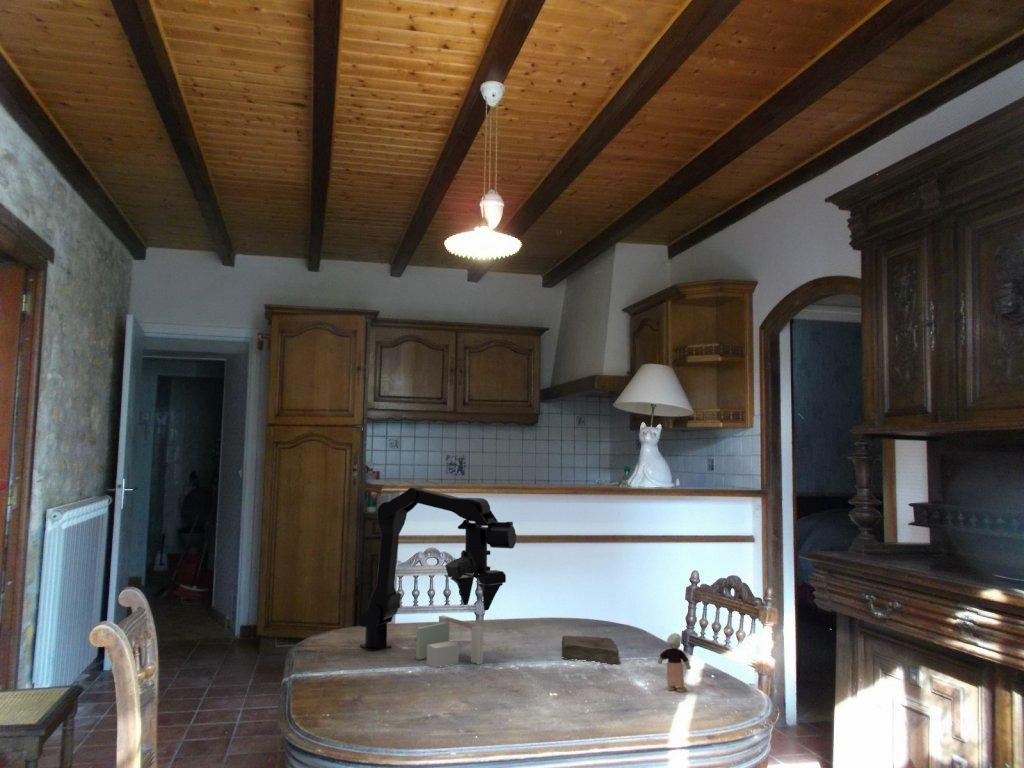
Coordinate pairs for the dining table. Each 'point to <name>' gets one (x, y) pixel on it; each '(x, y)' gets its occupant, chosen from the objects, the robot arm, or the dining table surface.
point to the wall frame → (475, 640)
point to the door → (430, 637)
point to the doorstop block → (442, 654)
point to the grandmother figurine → (674, 663)
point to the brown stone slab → (590, 649)
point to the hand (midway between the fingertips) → (475, 607)
